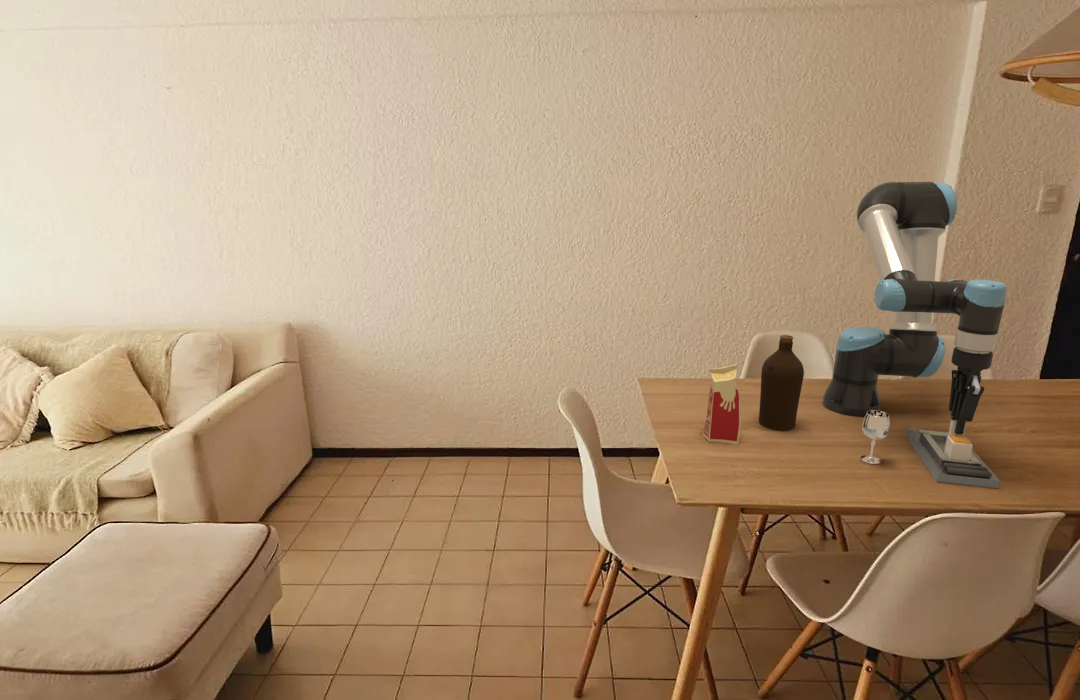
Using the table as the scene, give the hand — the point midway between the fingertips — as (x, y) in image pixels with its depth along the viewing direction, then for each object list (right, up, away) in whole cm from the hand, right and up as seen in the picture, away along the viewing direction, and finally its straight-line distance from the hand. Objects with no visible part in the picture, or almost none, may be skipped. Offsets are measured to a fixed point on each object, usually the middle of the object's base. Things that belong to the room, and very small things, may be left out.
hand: (954, 444), depth 149 cm
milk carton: (-51, 0, +17) cm, 53 cm away
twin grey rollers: (-2, -5, -8) cm, 9 cm away
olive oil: (-33, +2, +24) cm, 41 cm away
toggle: (-1, -3, -2) cm, 4 cm away
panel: (0, -4, +3) cm, 5 cm away
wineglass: (-18, -4, +3) cm, 19 cm away
